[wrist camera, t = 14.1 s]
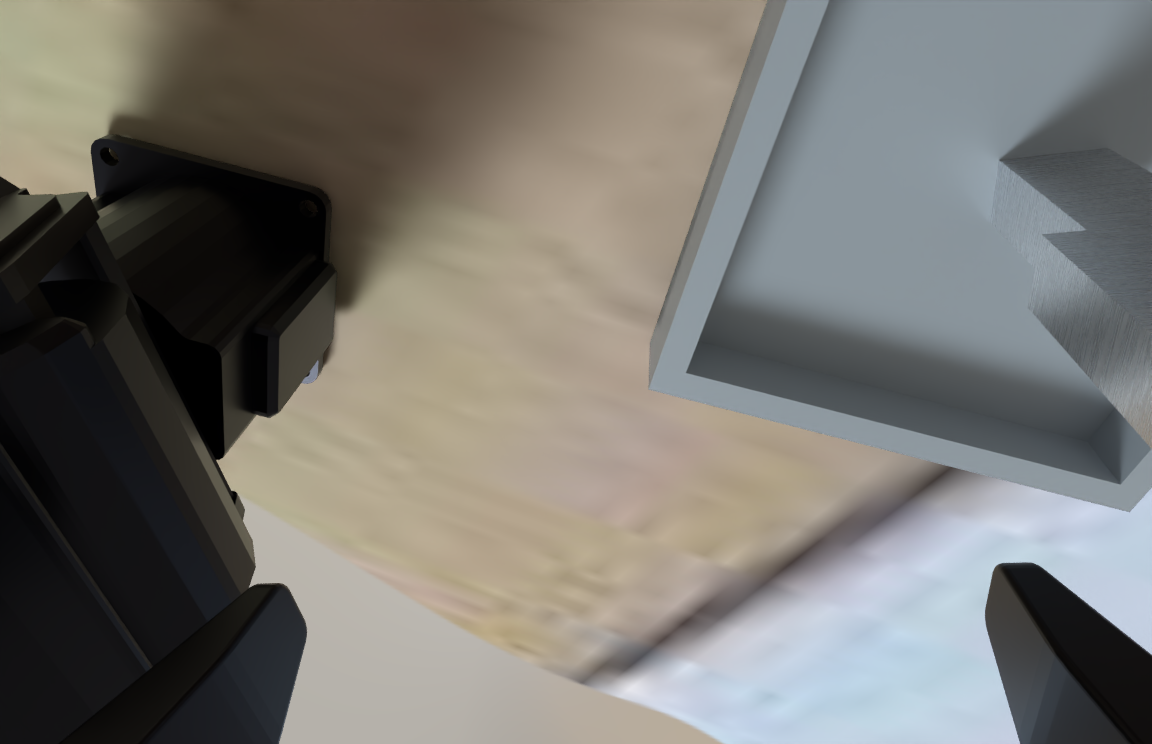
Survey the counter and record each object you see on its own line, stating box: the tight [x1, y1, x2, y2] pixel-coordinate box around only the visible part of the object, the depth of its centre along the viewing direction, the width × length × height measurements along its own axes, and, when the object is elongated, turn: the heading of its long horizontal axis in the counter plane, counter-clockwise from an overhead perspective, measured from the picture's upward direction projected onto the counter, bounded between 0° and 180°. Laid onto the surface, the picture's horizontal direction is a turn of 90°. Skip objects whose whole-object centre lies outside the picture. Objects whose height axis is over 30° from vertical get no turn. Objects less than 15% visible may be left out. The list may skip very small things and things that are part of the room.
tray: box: [649, 0, 1152, 512], centre depth 18 cm, size 14×14×2 cm
